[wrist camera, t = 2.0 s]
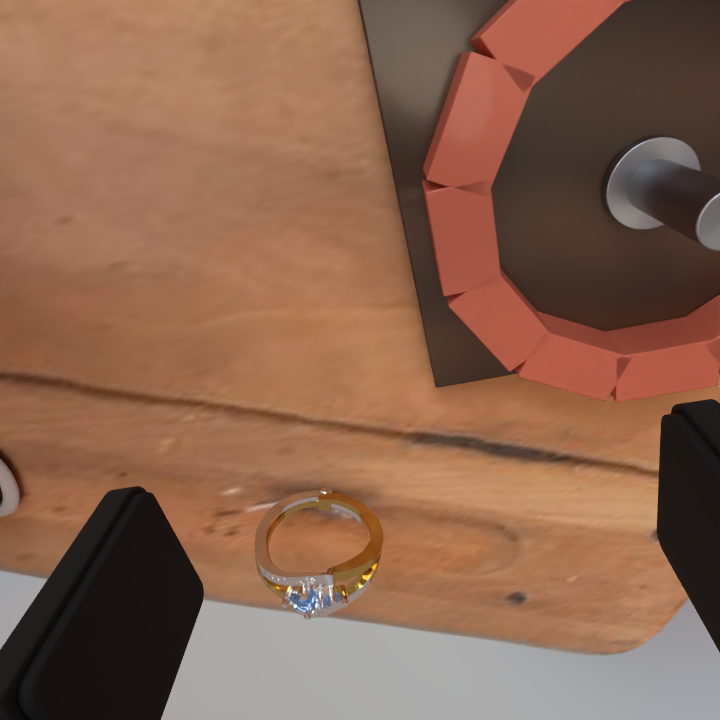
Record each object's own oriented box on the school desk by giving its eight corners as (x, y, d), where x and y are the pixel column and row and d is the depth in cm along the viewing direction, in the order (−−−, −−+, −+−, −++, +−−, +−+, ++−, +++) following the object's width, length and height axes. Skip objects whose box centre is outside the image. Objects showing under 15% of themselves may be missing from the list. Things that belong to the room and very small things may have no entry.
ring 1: (385, 478, 32) (385, 595, 25) (379, 517, 33) (377, 637, 26) (269, 466, 32) (236, 580, 25) (269, 506, 33) (238, 623, 26)
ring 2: (960, -182, 16) (1045, -219, 14) (846, 332, 24) (889, 357, 22) (387, -13, 19) (387, -23, 17) (460, 399, 27) (466, 427, 25)
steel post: (585, 173, 22) (650, 208, 16) (673, 114, 20) (772, 131, 15) (623, 242, 23) (694, 296, 18) (707, 191, 22) (810, 231, 16)
